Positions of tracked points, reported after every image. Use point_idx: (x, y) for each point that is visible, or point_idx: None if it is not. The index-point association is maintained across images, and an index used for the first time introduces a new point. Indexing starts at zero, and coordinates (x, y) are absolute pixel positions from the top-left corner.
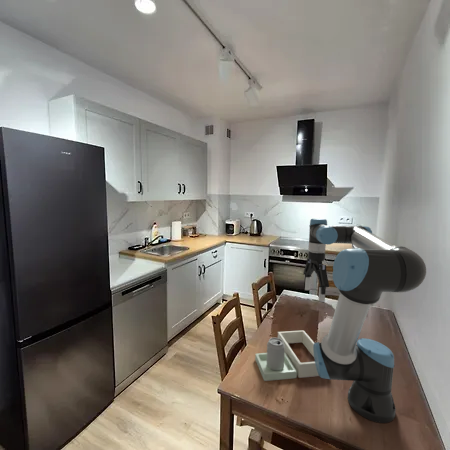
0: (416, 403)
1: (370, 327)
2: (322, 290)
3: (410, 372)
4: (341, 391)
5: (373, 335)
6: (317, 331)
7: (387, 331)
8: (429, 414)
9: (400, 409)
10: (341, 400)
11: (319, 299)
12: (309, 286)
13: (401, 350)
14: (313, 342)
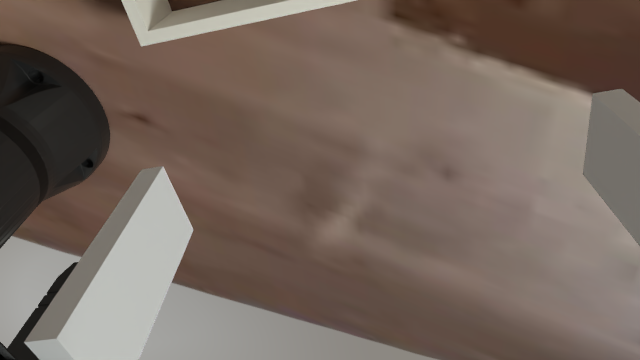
0: None
1: (547, 317)
2: (29, 321)
3: (252, 299)
4: (70, 39)
5: (482, 301)
6: (562, 84)
7: (505, 352)
8: (70, 252)
9: (58, 195)
10: (14, 19)
11: (134, 184)
12: (616, 189)
13: (375, 332)
14: (322, 2)
